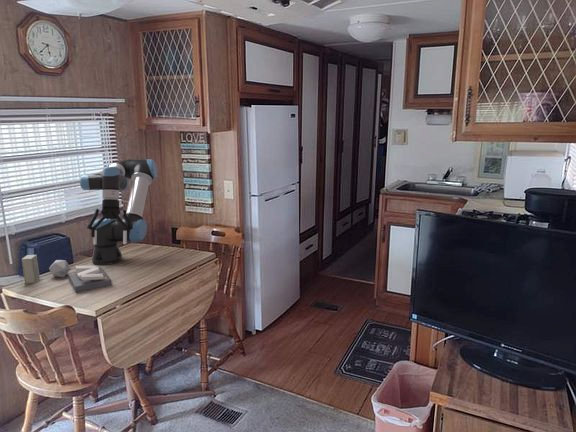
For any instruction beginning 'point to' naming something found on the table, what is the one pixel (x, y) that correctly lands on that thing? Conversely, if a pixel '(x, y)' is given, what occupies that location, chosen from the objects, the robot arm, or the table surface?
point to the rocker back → (83, 268)
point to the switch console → (89, 282)
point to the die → (59, 268)
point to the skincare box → (30, 268)
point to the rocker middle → (89, 271)
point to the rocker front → (91, 276)
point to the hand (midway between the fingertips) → (110, 244)
